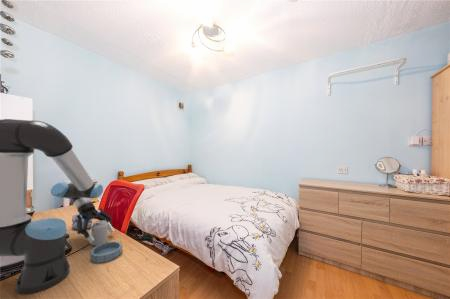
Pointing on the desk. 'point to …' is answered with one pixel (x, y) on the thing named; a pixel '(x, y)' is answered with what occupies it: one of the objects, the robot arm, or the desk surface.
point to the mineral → (82, 222)
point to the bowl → (106, 252)
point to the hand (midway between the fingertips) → (103, 236)
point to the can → (99, 232)
